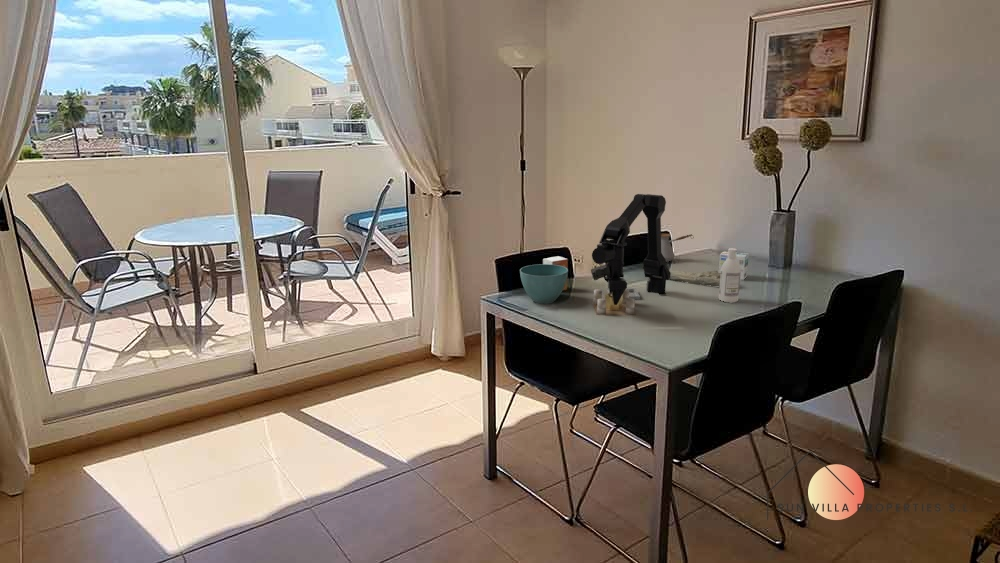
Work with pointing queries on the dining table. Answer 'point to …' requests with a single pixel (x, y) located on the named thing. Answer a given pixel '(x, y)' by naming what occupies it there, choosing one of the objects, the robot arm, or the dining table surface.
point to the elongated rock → (697, 277)
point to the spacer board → (601, 309)
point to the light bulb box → (742, 261)
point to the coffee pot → (669, 246)
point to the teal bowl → (543, 281)
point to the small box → (557, 263)
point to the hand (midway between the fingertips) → (613, 300)
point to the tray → (631, 290)
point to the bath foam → (730, 278)
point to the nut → (610, 302)
